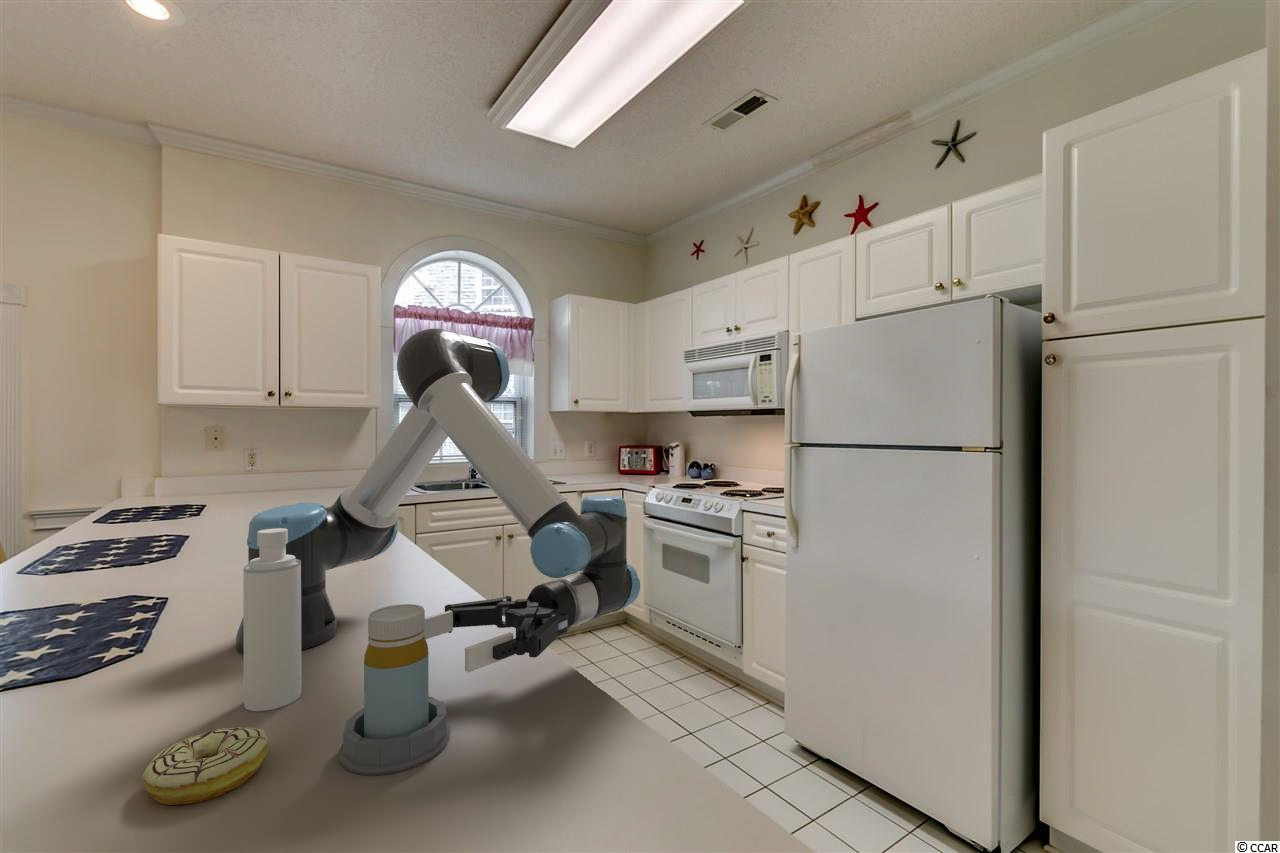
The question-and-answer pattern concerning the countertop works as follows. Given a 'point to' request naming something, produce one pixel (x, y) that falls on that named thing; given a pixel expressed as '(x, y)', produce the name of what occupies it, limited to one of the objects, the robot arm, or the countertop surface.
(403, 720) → the bottle
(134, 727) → the countertop surface
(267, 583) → the spray bottle
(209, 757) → the decorated donut
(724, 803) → the countertop surface
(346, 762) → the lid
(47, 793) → the countertop surface
